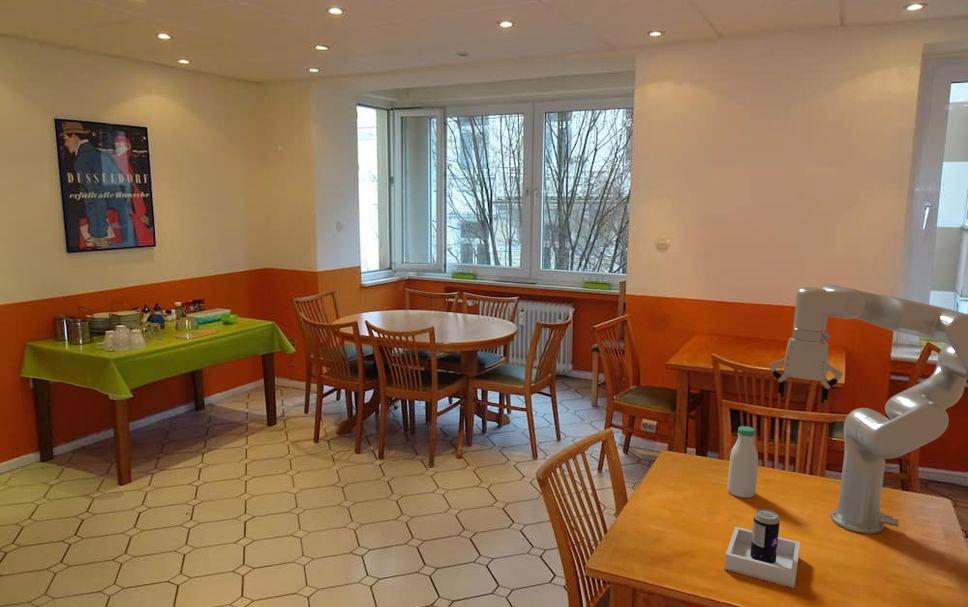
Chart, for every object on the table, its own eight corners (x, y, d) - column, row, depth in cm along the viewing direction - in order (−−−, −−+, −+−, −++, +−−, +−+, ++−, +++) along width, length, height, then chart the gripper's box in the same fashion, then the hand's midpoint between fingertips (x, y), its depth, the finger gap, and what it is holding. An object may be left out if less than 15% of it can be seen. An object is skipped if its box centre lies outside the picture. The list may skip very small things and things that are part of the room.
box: (798, 557, 162) (800, 542, 161) (794, 588, 149) (795, 572, 148) (734, 541, 169) (735, 526, 168) (724, 569, 156) (725, 554, 155)
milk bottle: (759, 499, 193) (765, 433, 190) (732, 498, 193) (738, 432, 190) (749, 487, 200) (754, 424, 197) (723, 486, 201) (728, 423, 197)
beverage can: (773, 570, 155) (778, 522, 153) (748, 562, 158) (752, 515, 156) (777, 559, 160) (781, 512, 158) (752, 552, 163) (756, 506, 161)
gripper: (846, 336, 171) (839, 400, 174) (773, 329, 179) (768, 390, 182) (846, 342, 165) (838, 408, 168) (770, 334, 173) (765, 397, 176)
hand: (802, 398), depth 175 cm, fingers open, 9 cm apart
